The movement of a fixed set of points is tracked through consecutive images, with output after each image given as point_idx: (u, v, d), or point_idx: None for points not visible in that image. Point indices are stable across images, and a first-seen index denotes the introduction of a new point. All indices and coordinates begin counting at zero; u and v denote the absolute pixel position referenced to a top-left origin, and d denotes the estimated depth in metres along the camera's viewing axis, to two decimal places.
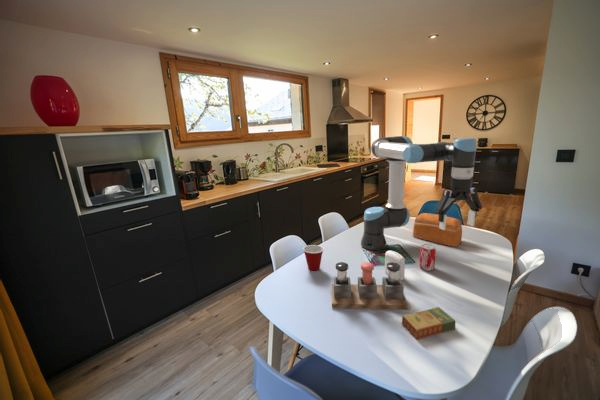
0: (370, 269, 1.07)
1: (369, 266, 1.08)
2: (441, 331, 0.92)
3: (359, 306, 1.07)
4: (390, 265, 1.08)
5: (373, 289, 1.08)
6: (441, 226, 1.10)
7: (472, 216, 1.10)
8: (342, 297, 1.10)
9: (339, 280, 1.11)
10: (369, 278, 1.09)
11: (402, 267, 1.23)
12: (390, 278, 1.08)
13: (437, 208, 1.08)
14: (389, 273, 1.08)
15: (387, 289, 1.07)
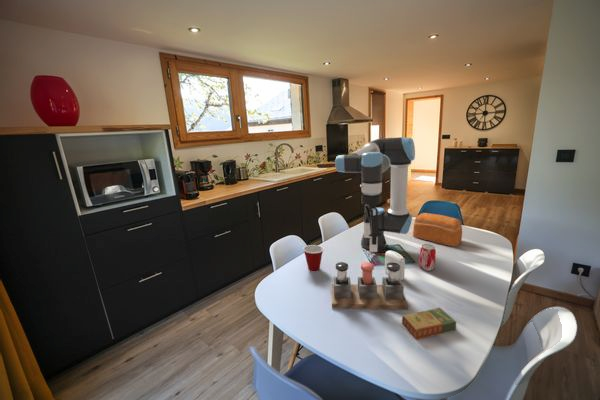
0: (370, 269, 1.07)
1: (369, 266, 1.08)
2: (441, 332, 0.92)
3: (359, 306, 1.07)
4: (390, 265, 1.08)
5: (373, 289, 1.08)
6: None
7: None
8: (342, 297, 1.10)
9: (339, 280, 1.11)
10: (369, 278, 1.09)
11: (402, 267, 1.23)
12: (390, 278, 1.08)
13: None
14: (389, 273, 1.08)
15: (387, 289, 1.07)
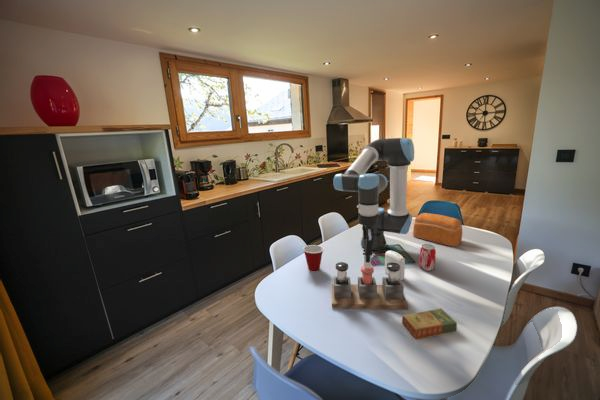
0: (370, 272, 1.07)
1: (369, 269, 1.09)
2: (441, 332, 0.91)
3: (359, 306, 1.07)
4: (390, 265, 1.08)
5: (373, 289, 1.08)
6: None
7: None
8: (342, 297, 1.10)
9: (339, 280, 1.11)
10: (369, 281, 1.09)
11: (402, 267, 1.23)
12: (390, 278, 1.08)
13: None
14: (389, 273, 1.08)
15: (387, 289, 1.07)
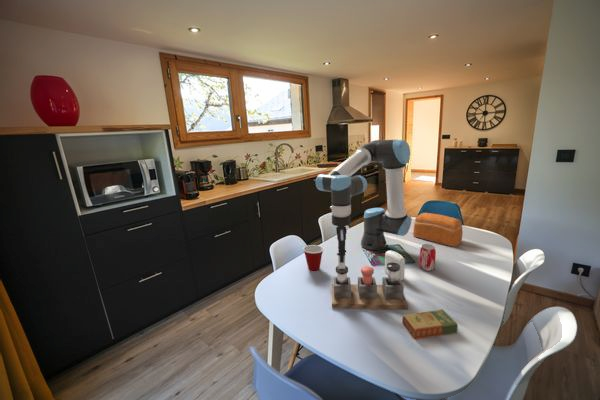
0: (370, 273, 1.07)
1: (369, 270, 1.09)
2: (441, 333, 0.91)
3: (359, 306, 1.07)
4: (390, 265, 1.08)
5: (373, 289, 1.08)
6: None
7: None
8: (342, 297, 1.10)
9: (339, 283, 1.11)
10: (369, 282, 1.09)
11: (402, 267, 1.23)
12: (390, 278, 1.08)
13: None
14: (389, 273, 1.08)
15: (387, 289, 1.07)
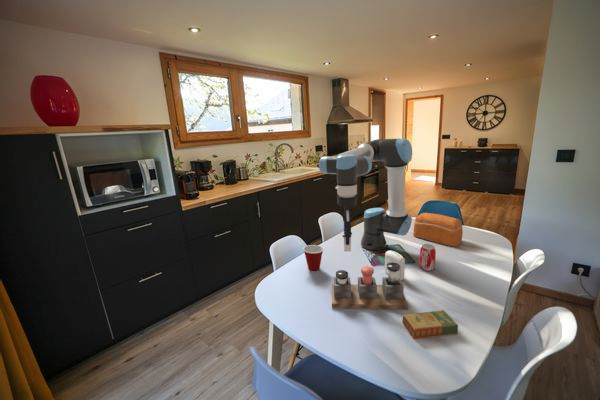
0: (370, 273, 1.07)
1: (369, 270, 1.09)
2: (441, 334, 0.91)
3: (359, 306, 1.07)
4: (390, 265, 1.08)
5: (373, 289, 1.08)
6: None
7: None
8: (342, 297, 1.10)
9: None
10: (369, 282, 1.09)
11: (402, 267, 1.23)
12: (390, 278, 1.08)
13: None
14: (389, 273, 1.08)
15: (387, 289, 1.07)
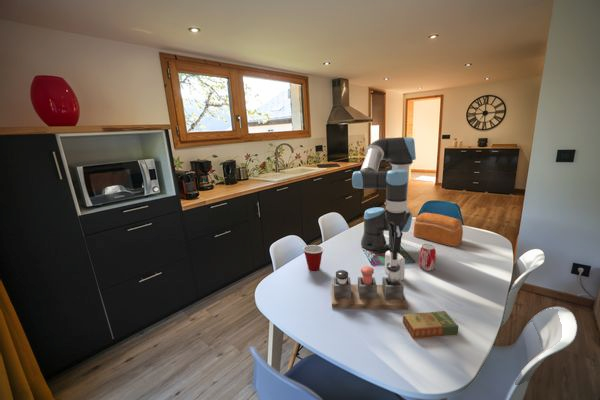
0: (370, 273, 1.07)
1: (369, 270, 1.09)
2: (441, 334, 0.90)
3: (359, 306, 1.07)
4: None
5: (373, 289, 1.08)
6: None
7: None
8: (342, 297, 1.10)
9: None
10: (369, 282, 1.09)
11: (402, 267, 1.23)
12: (390, 278, 1.08)
13: None
14: (389, 273, 1.08)
15: (387, 289, 1.07)
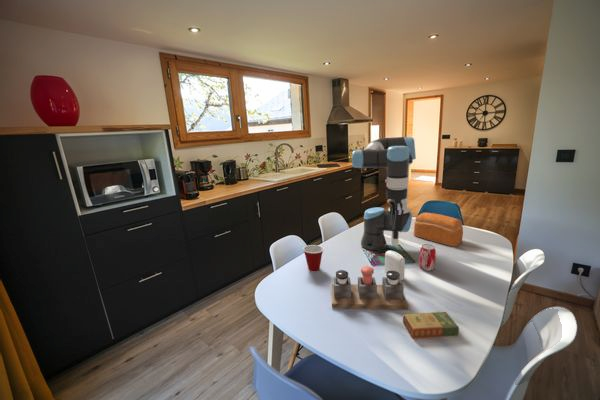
0: (370, 273, 1.07)
1: (369, 270, 1.09)
2: (441, 335, 0.90)
3: (359, 306, 1.07)
4: (390, 273, 1.09)
5: (373, 289, 1.08)
6: None
7: None
8: (342, 297, 1.10)
9: None
10: (369, 282, 1.09)
11: (402, 267, 1.23)
12: None
13: None
14: (389, 281, 1.09)
15: (387, 289, 1.07)
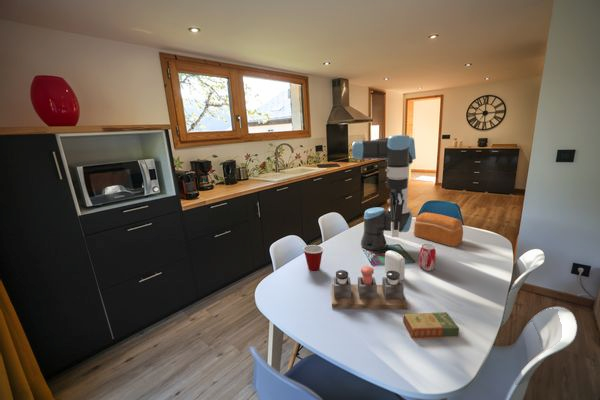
0: (370, 273, 1.07)
1: (369, 270, 1.09)
2: (441, 335, 0.90)
3: (359, 306, 1.07)
4: (390, 273, 1.09)
5: (373, 289, 1.08)
6: None
7: None
8: (342, 297, 1.10)
9: None
10: (369, 282, 1.09)
11: (402, 267, 1.23)
12: None
13: None
14: (389, 281, 1.09)
15: (387, 289, 1.07)
